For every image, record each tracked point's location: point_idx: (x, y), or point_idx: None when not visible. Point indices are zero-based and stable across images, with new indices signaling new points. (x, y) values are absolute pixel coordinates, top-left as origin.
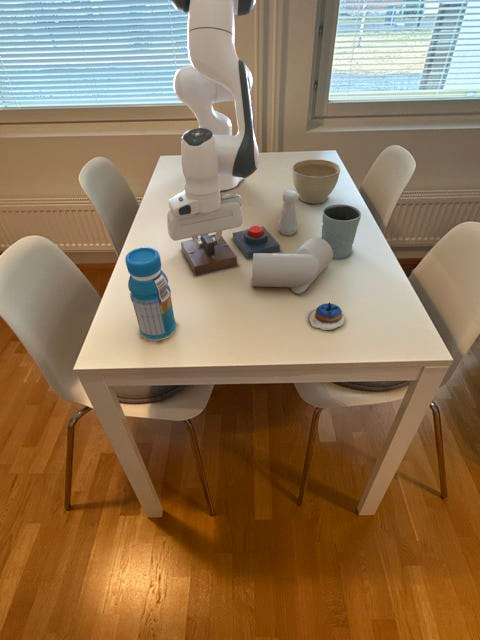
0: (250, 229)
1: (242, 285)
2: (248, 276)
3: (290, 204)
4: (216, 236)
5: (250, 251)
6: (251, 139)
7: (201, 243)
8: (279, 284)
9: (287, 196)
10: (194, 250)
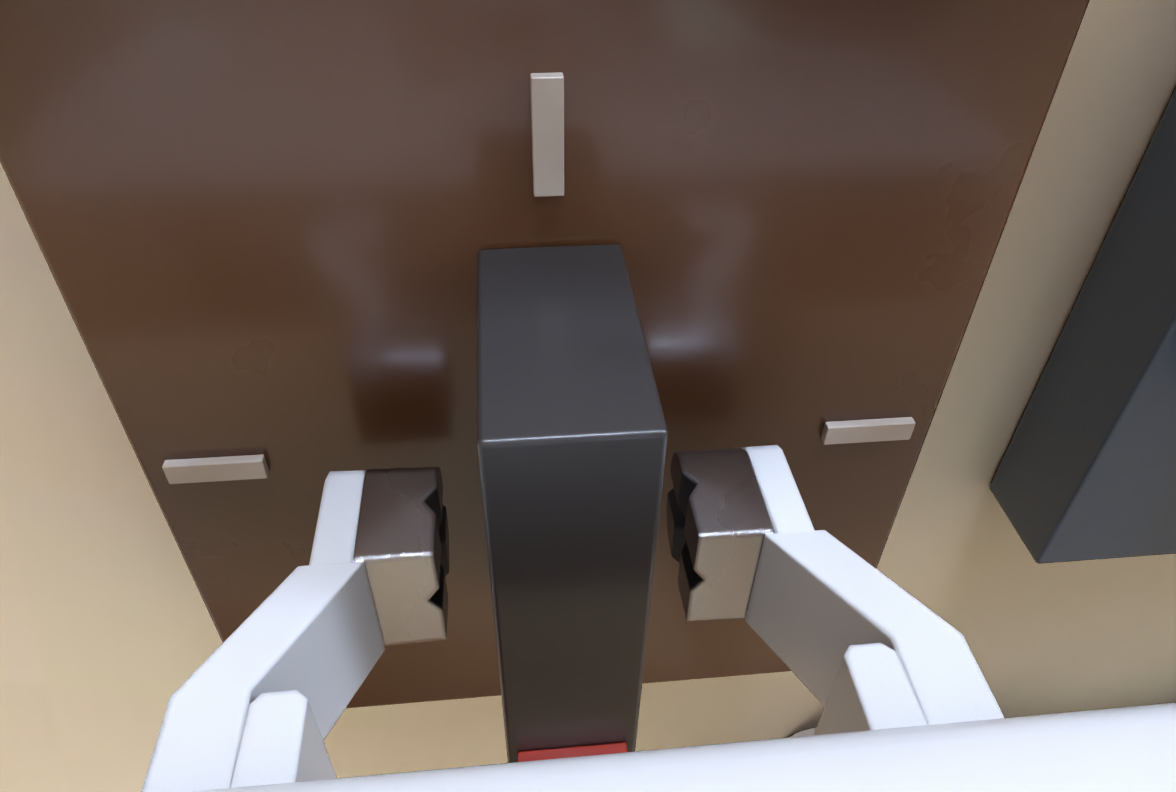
0: None
1: (684, 745)
2: (797, 682)
3: None
4: (792, 618)
5: (1081, 555)
6: None
7: (423, 637)
8: None
9: None
10: (290, 421)
